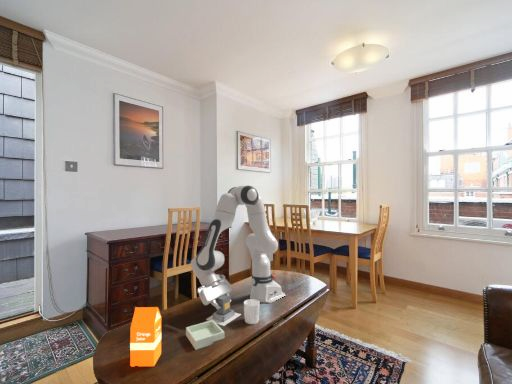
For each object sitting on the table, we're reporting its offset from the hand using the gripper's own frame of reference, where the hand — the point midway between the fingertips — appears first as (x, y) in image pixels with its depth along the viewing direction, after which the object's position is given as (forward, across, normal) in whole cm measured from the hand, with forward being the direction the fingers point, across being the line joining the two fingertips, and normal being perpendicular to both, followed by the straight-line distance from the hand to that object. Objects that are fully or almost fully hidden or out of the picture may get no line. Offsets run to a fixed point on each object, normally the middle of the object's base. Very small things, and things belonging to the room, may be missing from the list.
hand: (224, 305), depth 130 cm
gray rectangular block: (+4, 0, +5) cm, 6 cm away
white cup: (+15, +4, -4) cm, 16 cm away
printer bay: (+4, 0, +5) cm, 7 cm away
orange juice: (+2, -41, +8) cm, 42 cm away
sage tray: (+8, -18, +2) cm, 20 cm away
